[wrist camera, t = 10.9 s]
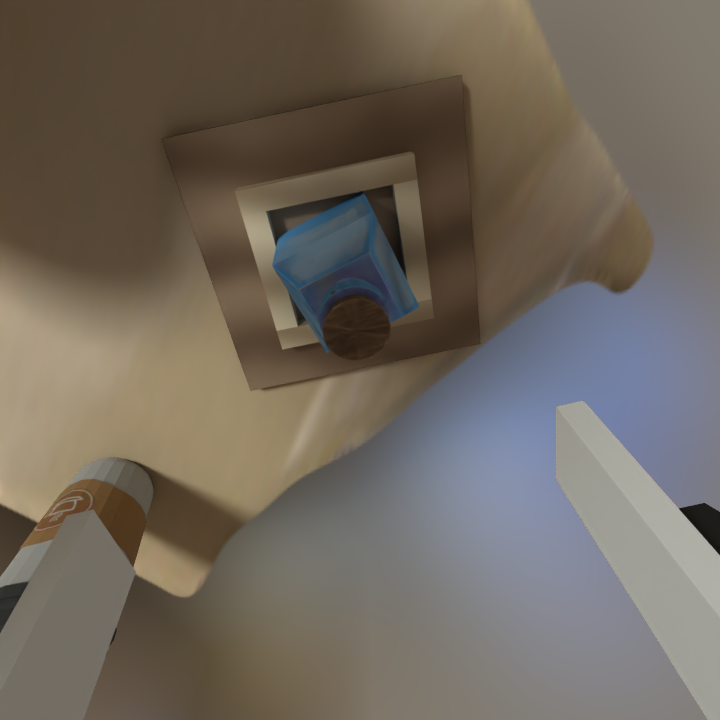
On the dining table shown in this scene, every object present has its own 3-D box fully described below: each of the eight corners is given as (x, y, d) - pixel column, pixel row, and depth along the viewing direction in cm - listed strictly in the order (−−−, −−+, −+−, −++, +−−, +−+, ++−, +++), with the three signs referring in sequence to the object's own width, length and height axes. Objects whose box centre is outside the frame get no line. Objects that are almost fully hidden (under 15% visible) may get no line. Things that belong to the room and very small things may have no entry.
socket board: (165, 137, 29) (155, 140, 27) (457, 75, 29) (467, 74, 27) (251, 383, 38) (248, 399, 36) (476, 337, 38) (485, 350, 36)
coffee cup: (138, 434, 40) (52, 603, 26) (183, 504, 44) (129, 681, 30) (44, 461, 40) (-86, 640, 27) (97, 528, 44) (7, 712, 31)
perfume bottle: (324, 312, 35) (330, 407, 24) (278, 236, 32) (262, 306, 21) (402, 272, 34) (443, 353, 23) (362, 190, 31) (388, 240, 20)
